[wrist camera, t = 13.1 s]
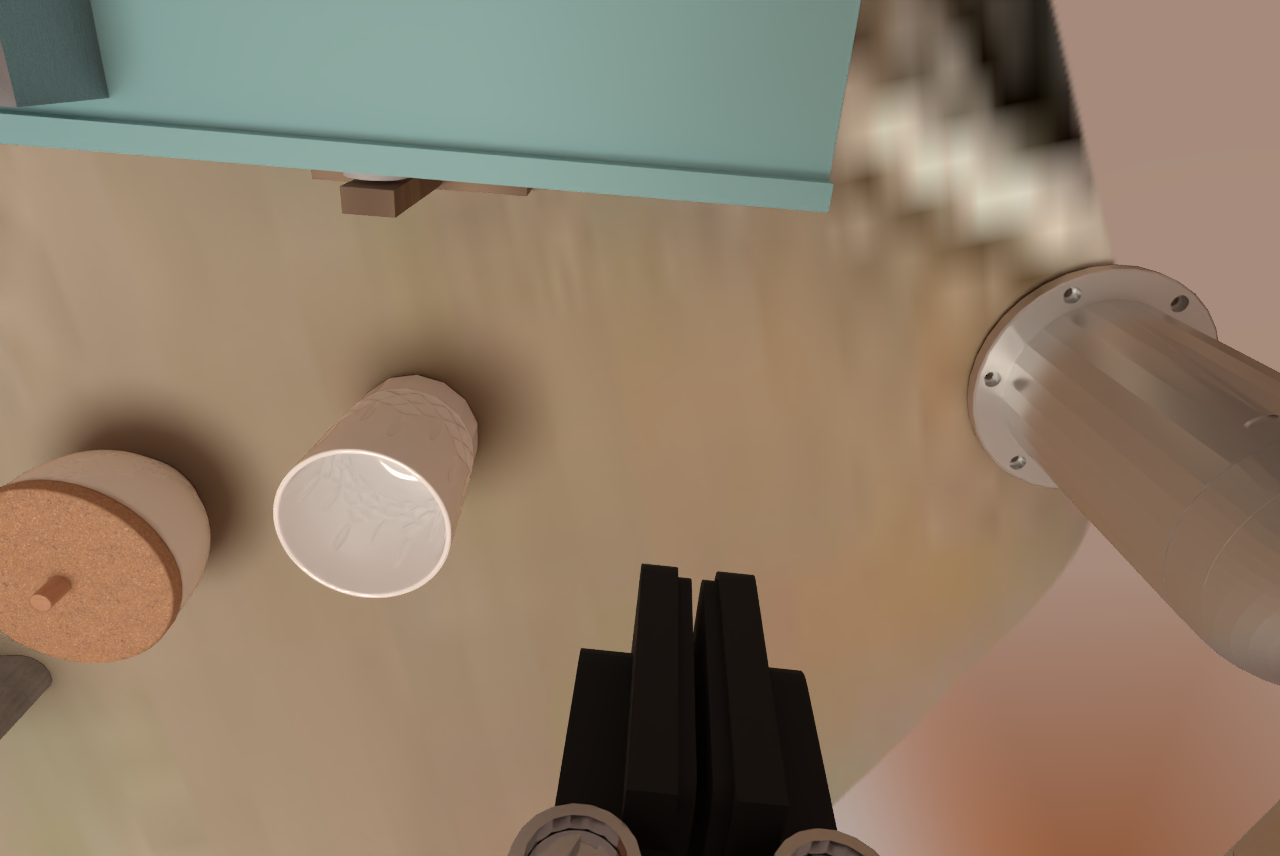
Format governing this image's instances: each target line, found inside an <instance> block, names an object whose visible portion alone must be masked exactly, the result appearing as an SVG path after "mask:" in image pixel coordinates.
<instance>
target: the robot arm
mask: <svg viewBox="0 0 1280 856" xmlns="http://www.w3.org/2000/svg"><path fill="white" fill-rule="evenodd" d="M1066 290H1068V291H1067V293H1066V294H1064V293H1065V292H1066ZM988 373H990V374H989V375H988V376H986V375H987V374H988ZM985 376H986V377H985ZM967 401H968V412H969V419H970V422H971V425H972V428H973V431H974V434H975V436H976V437H977V439H978V441H979V442H980V444H981V445H982V447H983V449H984V450H985V451H986V452H987V453H988V455H989V456H990V457H991V458H992V459H993V460H994V462H995V463H996V464H997V465H999V466H1000V467H1001V468H1002V469H1003V470H1005V471H1006V472H1007V473H1009V474H1010V475H1012V476H1014V477H1016V478H1018V479H1020V480H1022V481H1025V482H1027V483H1030V484H1033V485H1037V486H1041V487H1045V488H1054V489H1061V490H1062V491H1063V492H1064V494H1065V495H1066V496H1067V497H1068V498H1069V499H1070V500H1071V501H1072V502H1073V503H1074V504H1075V505H1076V506H1077V507H1078V509H1079V510H1080V511H1081V512H1082V513H1083V514H1084V515H1085V516H1086V517H1087V518H1088V519H1089V520H1090V521H1091V522H1092V524H1093V525H1094V526H1095V527H1096V528H1097V529H1098V530H1099V531H1100V532H1101V533H1102V534H1103V535H1104V536H1105V537H1106V539H1107V540H1108V541H1109V542H1110V543H1111V544H1112V545H1113V546H1114V547H1115V548H1116V549H1117V550H1118V551H1119V552H1120V554H1121V555H1122V556H1123V557H1124V558H1125V559H1126V560H1127V561H1128V562H1129V563H1130V564H1131V565H1132V566H1133V567H1134V568H1135V570H1136V571H1137V572H1138V573H1139V574H1140V575H1141V576H1142V577H1143V578H1144V579H1145V580H1146V581H1147V582H1148V583H1149V584H1150V586H1151V587H1152V588H1153V589H1154V590H1155V591H1156V592H1157V593H1158V594H1159V595H1160V596H1161V598H1163V600H1164V601H1165V602H1166V603H1167V604H1168V605H1169V606H1170V607H1171V608H1172V609H1173V610H1174V611H1175V612H1176V614H1177V615H1178V616H1179V617H1180V618H1181V619H1182V620H1184V622H1185V623H1187V624H1188V626H1189V627H1190V628H1191V629H1192V630H1193V631H1194V632H1195V633H1196V634H1197V635H1198V636H1199V637H1200V638H1201V639H1202V640H1203V641H1204V642H1205V643H1206V644H1207V645H1209V647H1210V648H1212V649H1213V650H1214V651H1215V652H1216V653H1218V654H1219V655H1220V656H1222V657H1223V658H1225V659H1226V660H1227V661H1229V662H1230V663H1232V664H1233V665H1235V666H1237V667H1238V668H1240V669H1242V670H1244V671H1246V672H1248V673H1250V674H1252V675H1254V676H1256V677H1259V678H1261V679H1263V680H1265V681H1268V682H1271V683H1274V684H1277V685H1280V373H1279V372H1277V371H1275V370H1273V369H1271V368H1269V367H1267V366H1266V365H1264V364H1262V363H1260V362H1258V361H1256V360H1254V359H1252V358H1250V357H1248V356H1246V355H1244V354H1242V353H1240V352H1239V351H1237V350H1235V349H1233V348H1231V347H1229V346H1227V345H1225V344H1223V343H1221V342H1219V341H1218V337H1217V331H1216V327H1215V325H1214V322H1213V320H1212V318H1211V316H1210V313H1209V311H1208V309H1207V308H1206V307H1205V305H1204V304H1203V303H1202V302H1201V300H1200V299H1199V298H1198V297H1197V296H1196V294H1195V293H1193V292H1192V291H1191V290H1189V289H1188V288H1187V287H1185V286H1184V285H1183V284H1181V283H1180V282H1178V281H1176V280H1174V279H1172V278H1170V277H1168V276H1166V275H1163V274H1161V273H1159V272H1156V271H1152V270H1149V269H1146V268H1142V267H1139V266H1126V265H1106V266H1097V267H1090V268H1086V269H1082V270H1079V271H1075V272H1072V273H1068V274H1065V275H1063V276H1061V277H1059V278H1057V279H1055V280H1053V281H1051V282H1048V283H1046V284H1044V285H1042V286H1041V287H1039V288H1038V289H1036V290H1035V291H1033V292H1032V293H1030V294H1029V295H1027V296H1026V297H1024V298H1023V299H1022V300H1020V301H1019V302H1018V303H1017V304H1016V305H1015V306H1014V307H1013V308H1012V309H1011V310H1010V311H1009V312H1007V313H1006V314H1005V315H1004V316H1003V317H1002V318H1001V320H1000V321H999V322H998V324H997V325H996V326H995V327H994V329H993V330H992V331H991V332H990V334H989V335H988V336H987V338H986V340H985V342H984V344H983V346H982V347H981V349H980V351H979V353H978V355H977V357H976V360H975V363H974V366H973V369H972V372H971V375H970V379H969V387H968V395H967ZM508 856H879V855H878V854H877V853H876V851H874V850H873V849H872V848H870V847H869V846H867V845H866V844H864V843H863V842H861V841H860V840H858V839H857V838H855V837H852V836H850V835H847V834H844V833H842V832H839V831H837V827H836V823H835V818H834V813H833V808H832V803H831V798H830V794H829V789H828V784H827V779H826V774H825V769H824V764H823V760H822V755H821V750H820V745H819V740H818V735H817V730H816V726H815V721H814V716H813V711H812V706H811V701H810V696H809V692H808V687H807V682H806V679H805V676H804V674H803V672H802V671H798V670H789V669H779V668H769V667H768V660H767V653H766V647H765V640H764V633H763V626H762V620H761V613H760V606H759V600H758V593H757V586H756V580H755V576H754V575H747V574H738V573H728V572H717V573H716V576H715V581H710V580H702V582H701V587H700V593H699V600H698V606H697V612H696V619H695V625H694V632H693V616H692V581H691V579H690V578H681V577H678V567H670V566H660V565H651V564H642V565H641V573H640V581H639V590H638V599H637V607H636V616H635V625H634V634H633V642H632V651H631V653H624V652H614V651H604V650H595V649H585V648H581V651H580V656H579V661H578V667H577V674H576V680H575V686H574V692H573V698H572V704H571V710H570V717H569V723H568V729H567V735H566V741H565V747H564V753H563V759H562V766H561V772H560V778H559V784H558V790H557V796H556V802H555V806H554V807H552V808H550V809H548V810H546V811H543V812H541V813H539V814H537V815H536V816H534V817H533V818H532V819H531V820H530V821H529V822H528V823H527V824H526V825H525V826H523V827H522V828H521V830H520V832H519V834H518V835H517V837H516V839H515V840H514V842H513V844H512V846H511V849H510V851H509V854H508ZM1224 856H1280V800H1279V801H1278V802H1277V803H1276V804H1275V805H1274V806H1273V807H1272V808H1271V809H1270V810H1269V811H1268V812H1267V813H1266V814H1265V815H1264V816H1263V817H1262V818H1261V819H1260V820H1259V821H1258V822H1257V823H1256V824H1255V825H1254V826H1252V827H1251V829H1249V830H1248V831H1247V832H1246V833H1245V834H1244V835H1243V837H1242V838H1241V839H1240V840H1239V841H1238V842H1237V843H1236V844H1235V845H1234V846H1233V847H1232V848H1231V849H1230V850H1229V851H1228V852H1227V853H1226V854H1225V855H1224Z"/></svg>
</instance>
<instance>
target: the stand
mask: <svg viewBox="0 0 1280 856" xmlns="http://www.w3.org/2000/svg"><path fill="white" fill-rule="evenodd" d="M311 172H312V179H322V180H334V181H346V182H348V183H346V184H344V185H342V186H340V193H341V205H342V213H344V214H356V215H369V216H381V217H394V218H395V217H397V216H398V215H400V214H401V213H402V212H404V211H405V210H407V209H408V208H409V207H411V206H412V205H414V204H415V203H416V202H418V201H419V200H421V199H422V198H423V197H425V196H426V195H428V194H429V193H430V192H432V191H433V190H435V189H445V190H457V191H470V192H482V193H494V194H506V195H519V196H527V195H528V194H529V193H530V191H531V188H528V187H516V186H504V185H492V184H480V183H468V182H456V181H444V180H432V179H420V178H406V179H402V180H393V181H370V180H359V179H353V178H348V177H345V176H344V175H343V172H336V171H324V170H312V169H311Z"/></svg>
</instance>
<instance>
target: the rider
mask: <svg viewBox="0 0 1280 856" xmlns="http://www.w3.org/2000/svg"><path fill="white" fill-rule="evenodd" d="M104 98H109V93H108V88H107V83H106V78H105V73H104V68H103V63H102V58H101V53H100V47H99V42H98V37H97V32H96V27H95V22H94V17H93V12H92V7H91V2H90V0H0V106H6V107H26V106H36V105H46V104H56V103H65V102H75V101H85V100H95V99H104Z"/></svg>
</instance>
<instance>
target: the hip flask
mask: <svg viewBox="0 0 1280 856" xmlns="http://www.w3.org/2000/svg"><path fill="white" fill-rule="evenodd" d="M50 684H51V675H50V673H49V671H48V669H47V668H46V667H45V666H44V665H43V664H41V663H40V662H38V661H37V660H35V659H33V658H30V657H26V656H17V655H16V656H0V739H1V738H2V737H3V736H4V735H5V734H6V733H7V732H8V731H9V730H10V729H11V727H12V726H13V725H14V724H15V723H16V722H17V721H18V720H19V719H20V718H21V717H22V715H23V714H24V713H25V712H26V711H27V710H28V709H29V708H30V707H31V706H32V705H33V704H34V702H35V701H36V700H37V699H38V698H39V697H40V696H41V695H42V694H43V693H44V692H45V690H46V689H47V688H48V687H49V686H50Z"/></svg>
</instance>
